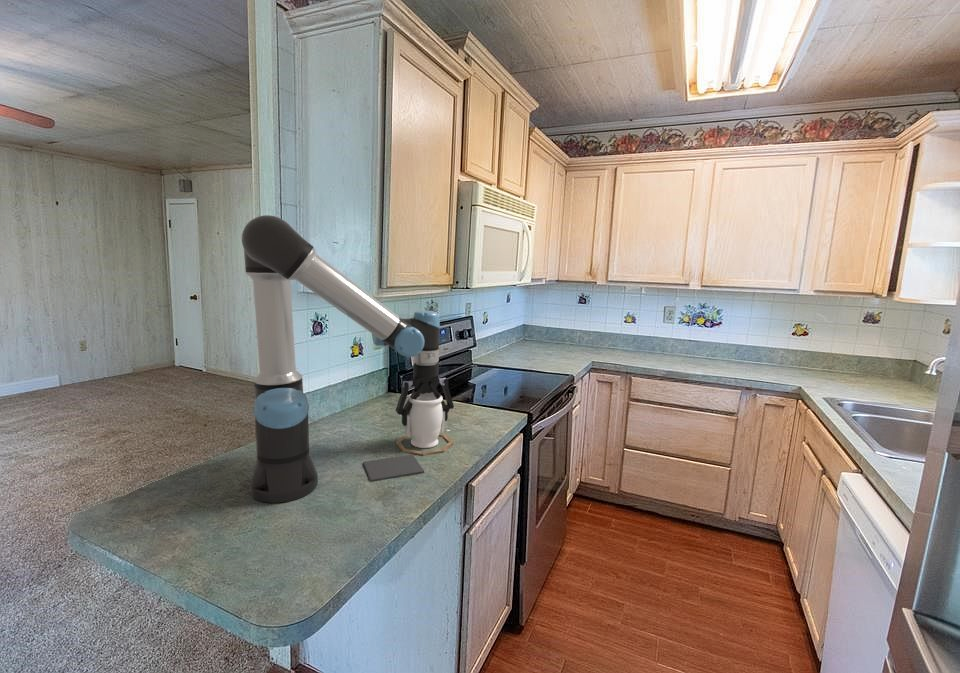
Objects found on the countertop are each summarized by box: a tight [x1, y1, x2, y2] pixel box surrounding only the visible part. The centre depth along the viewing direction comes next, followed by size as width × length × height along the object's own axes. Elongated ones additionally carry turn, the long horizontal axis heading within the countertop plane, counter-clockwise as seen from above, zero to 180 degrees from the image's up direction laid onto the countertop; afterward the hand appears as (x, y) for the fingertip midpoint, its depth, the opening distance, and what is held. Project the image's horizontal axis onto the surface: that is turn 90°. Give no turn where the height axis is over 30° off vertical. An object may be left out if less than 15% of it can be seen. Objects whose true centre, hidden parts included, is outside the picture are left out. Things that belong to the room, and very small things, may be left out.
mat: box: [362, 453, 425, 482], centre depth 123 cm, size 14×11×1 cm
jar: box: [407, 392, 444, 449], centre depth 139 cm, size 11×10×15 cm
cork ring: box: [395, 432, 454, 456], centre depth 140 cm, size 16×16×1 cm
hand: (424, 432), depth 139 cm, fingers closed on jar, 10 cm apart
